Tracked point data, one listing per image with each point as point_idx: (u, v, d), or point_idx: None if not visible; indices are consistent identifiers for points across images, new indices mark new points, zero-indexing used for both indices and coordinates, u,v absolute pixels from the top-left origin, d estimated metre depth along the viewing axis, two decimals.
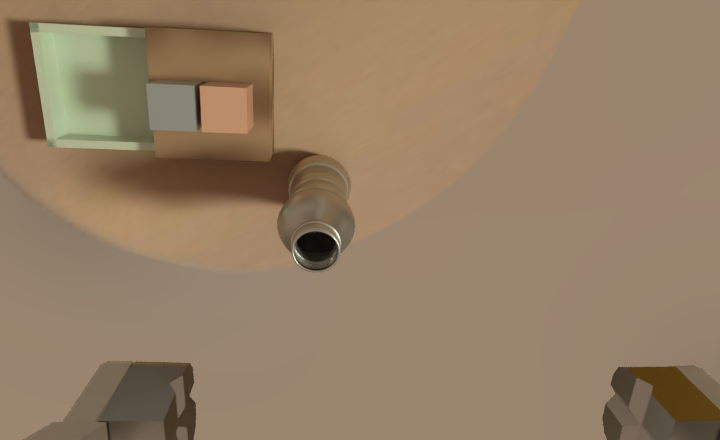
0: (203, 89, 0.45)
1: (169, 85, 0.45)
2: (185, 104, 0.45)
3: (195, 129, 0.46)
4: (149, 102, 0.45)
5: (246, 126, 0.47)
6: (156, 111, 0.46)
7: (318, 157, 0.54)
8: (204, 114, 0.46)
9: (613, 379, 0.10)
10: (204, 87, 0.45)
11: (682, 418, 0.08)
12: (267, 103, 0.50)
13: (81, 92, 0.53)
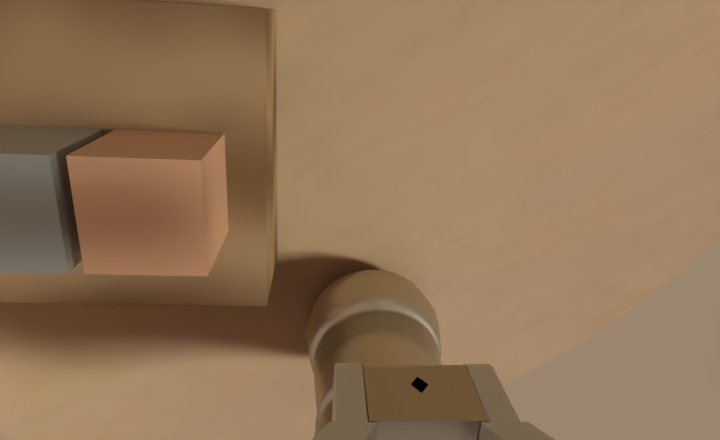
0: (78, 165, 0.16)
1: None
2: (31, 204, 0.16)
3: (66, 267, 0.17)
4: None
5: (204, 258, 0.17)
6: None
7: (374, 283, 0.25)
8: (87, 230, 0.17)
9: None
10: (80, 159, 0.16)
11: (439, 418, 0.08)
12: (261, 180, 0.21)
13: None
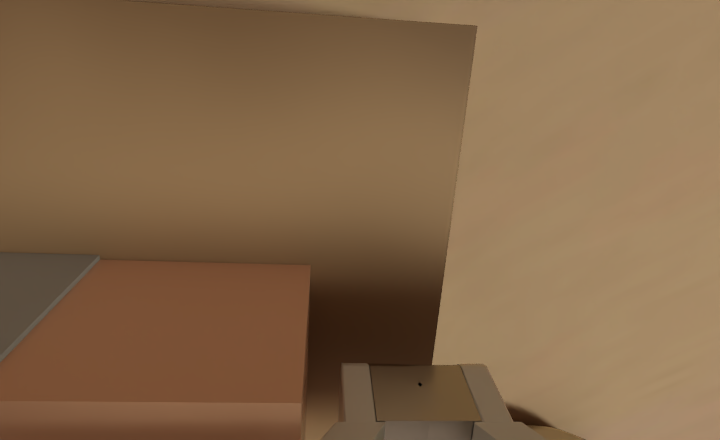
0: None
1: None
2: None
3: None
4: None
5: None
6: None
7: None
8: None
9: None
10: (1, 408, 0.06)
11: (432, 418, 0.08)
12: (429, 342, 0.11)
13: None
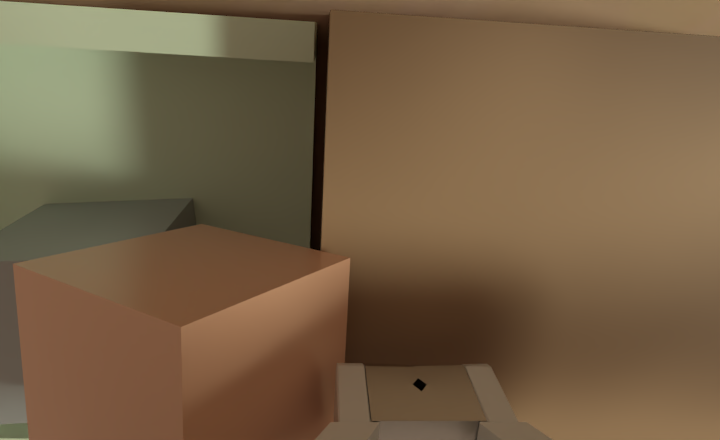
0: (24, 284, 0.08)
1: None
2: None
3: None
4: None
5: None
6: None
7: None
8: (34, 404, 0.09)
9: None
10: (27, 275, 0.08)
11: (437, 418, 0.08)
12: None
13: None
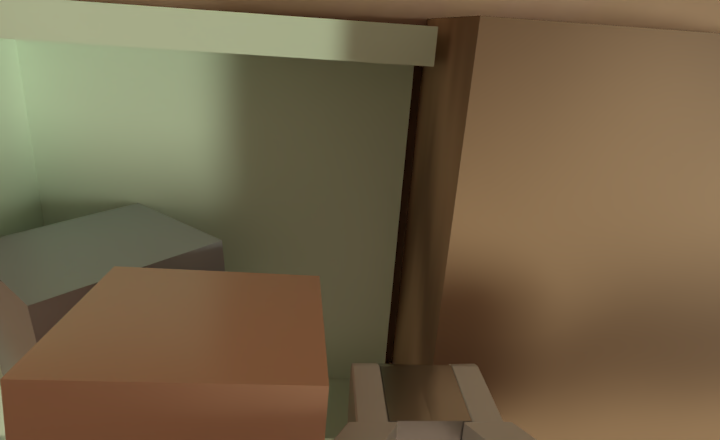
0: (30, 400, 0.06)
1: None
2: None
3: None
4: None
5: None
6: None
7: None
8: None
9: None
10: (37, 388, 0.06)
11: (422, 418, 0.08)
12: None
13: None
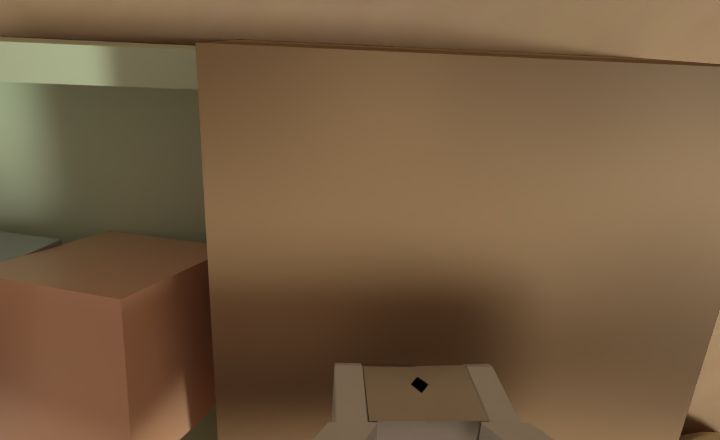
0: (133, 307, 0.10)
1: None
2: None
3: None
4: None
5: None
6: None
7: None
8: (139, 406, 0.11)
9: None
10: (136, 297, 0.10)
11: (439, 418, 0.08)
12: (700, 357, 0.12)
13: None
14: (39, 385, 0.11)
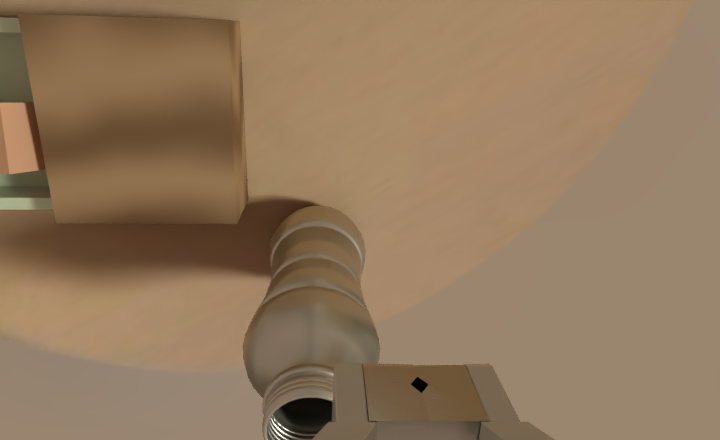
0: (5, 107, 0.29)
1: None
2: None
3: None
4: None
5: None
6: None
7: (315, 211, 0.35)
8: (10, 146, 0.30)
9: None
10: (6, 104, 0.29)
11: (439, 418, 0.08)
12: (229, 133, 0.31)
13: None
14: None
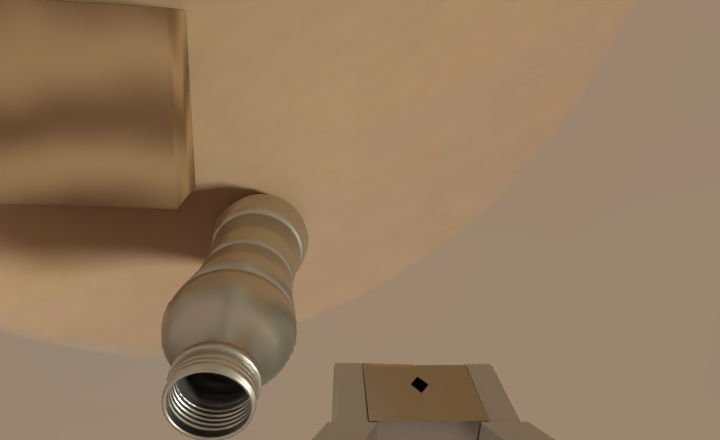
0: None
1: None
2: None
3: None
4: None
5: None
6: None
7: (257, 199, 0.36)
8: None
9: None
10: None
11: (439, 418, 0.08)
12: (168, 119, 0.31)
13: None
14: None
